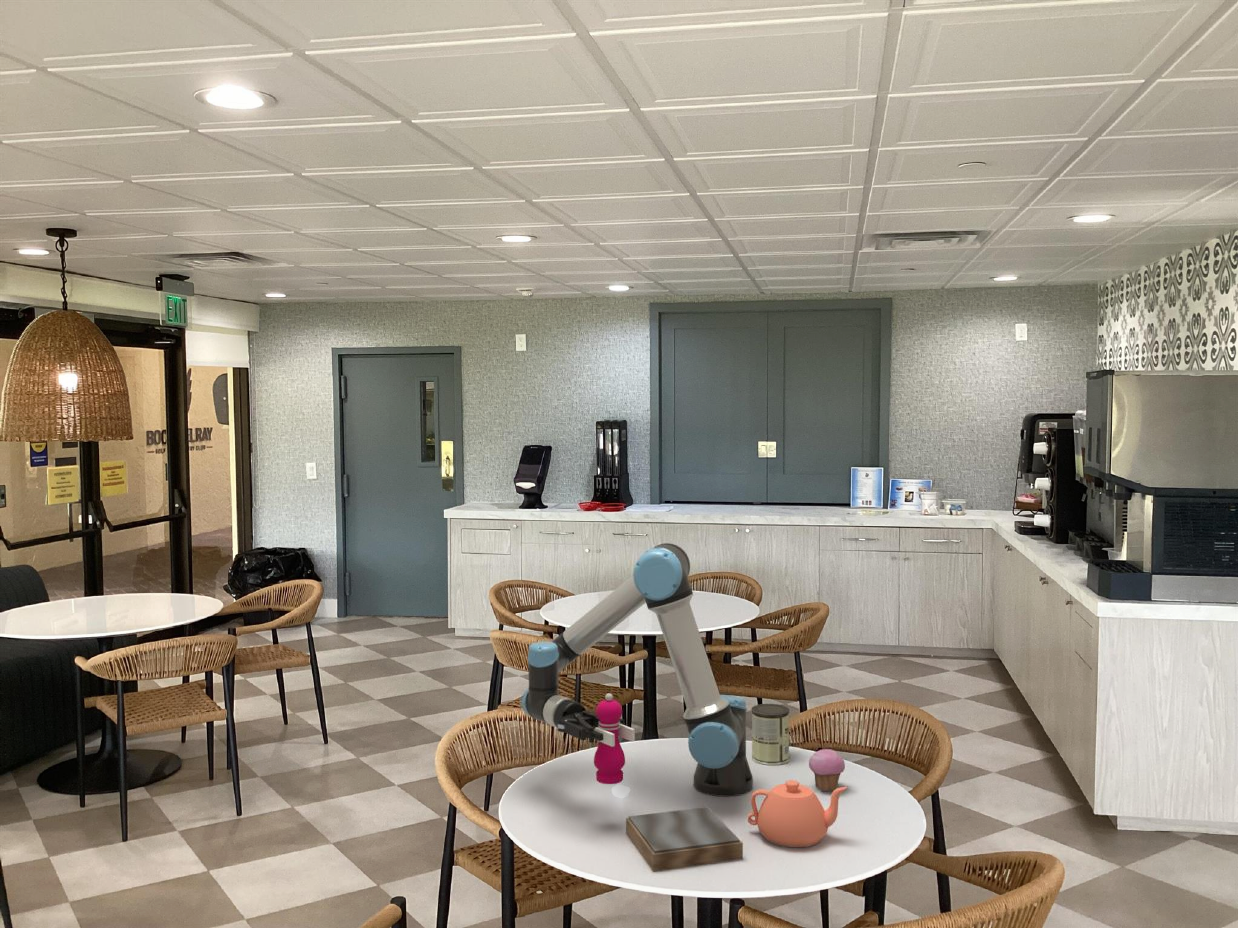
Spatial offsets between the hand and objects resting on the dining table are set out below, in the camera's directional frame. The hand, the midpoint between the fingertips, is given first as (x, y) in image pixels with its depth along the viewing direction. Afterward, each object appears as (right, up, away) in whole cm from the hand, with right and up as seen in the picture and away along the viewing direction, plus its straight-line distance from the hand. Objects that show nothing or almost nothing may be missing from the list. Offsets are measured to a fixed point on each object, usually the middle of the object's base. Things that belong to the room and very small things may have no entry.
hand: (623, 737), depth 223 cm
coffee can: (+41, -20, +50) cm, 68 cm away
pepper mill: (-3, -11, +5) cm, 12 cm away
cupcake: (+52, -21, +27) cm, 62 cm away
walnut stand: (+13, -22, -6) cm, 26 cm away
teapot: (+39, -22, -2) cm, 45 cm away
